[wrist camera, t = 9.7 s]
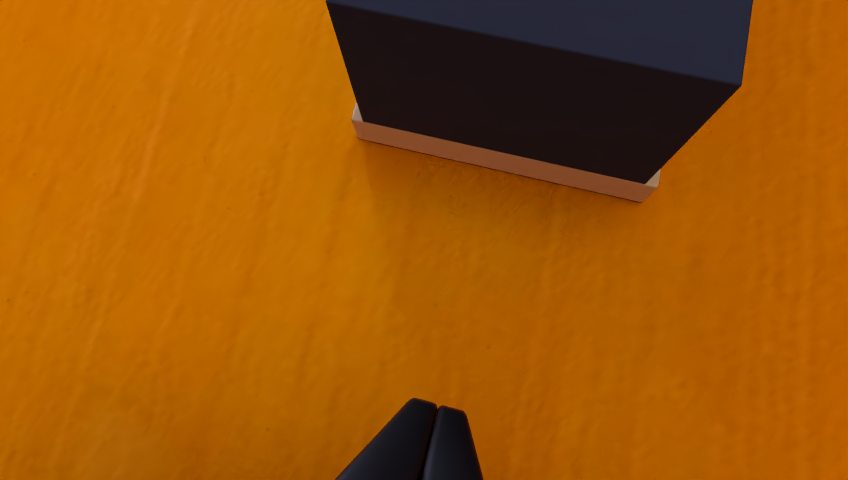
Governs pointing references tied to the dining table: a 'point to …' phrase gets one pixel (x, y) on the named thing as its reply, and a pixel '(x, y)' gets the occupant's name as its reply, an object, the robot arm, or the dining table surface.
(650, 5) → the navy stepped block
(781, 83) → the dining table surface
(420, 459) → the robot arm
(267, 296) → the dining table surface
